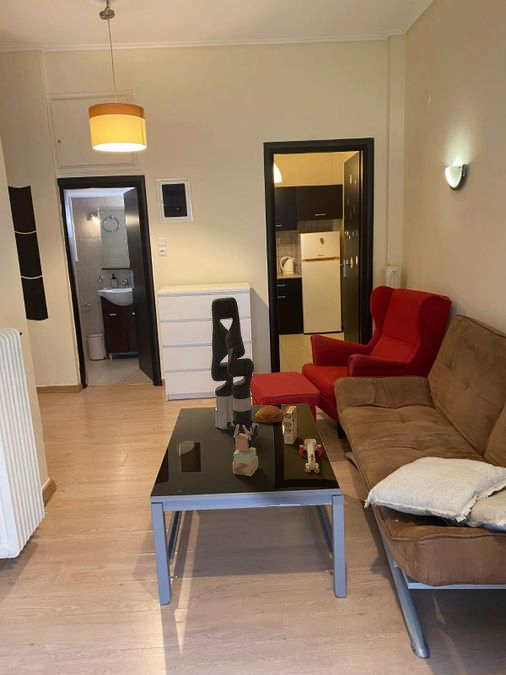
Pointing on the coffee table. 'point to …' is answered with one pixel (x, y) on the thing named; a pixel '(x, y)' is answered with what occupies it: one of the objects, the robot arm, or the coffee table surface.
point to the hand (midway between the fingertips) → (243, 446)
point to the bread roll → (269, 414)
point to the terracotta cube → (242, 442)
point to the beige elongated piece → (311, 454)
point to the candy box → (290, 425)
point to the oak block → (245, 468)
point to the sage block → (245, 456)
